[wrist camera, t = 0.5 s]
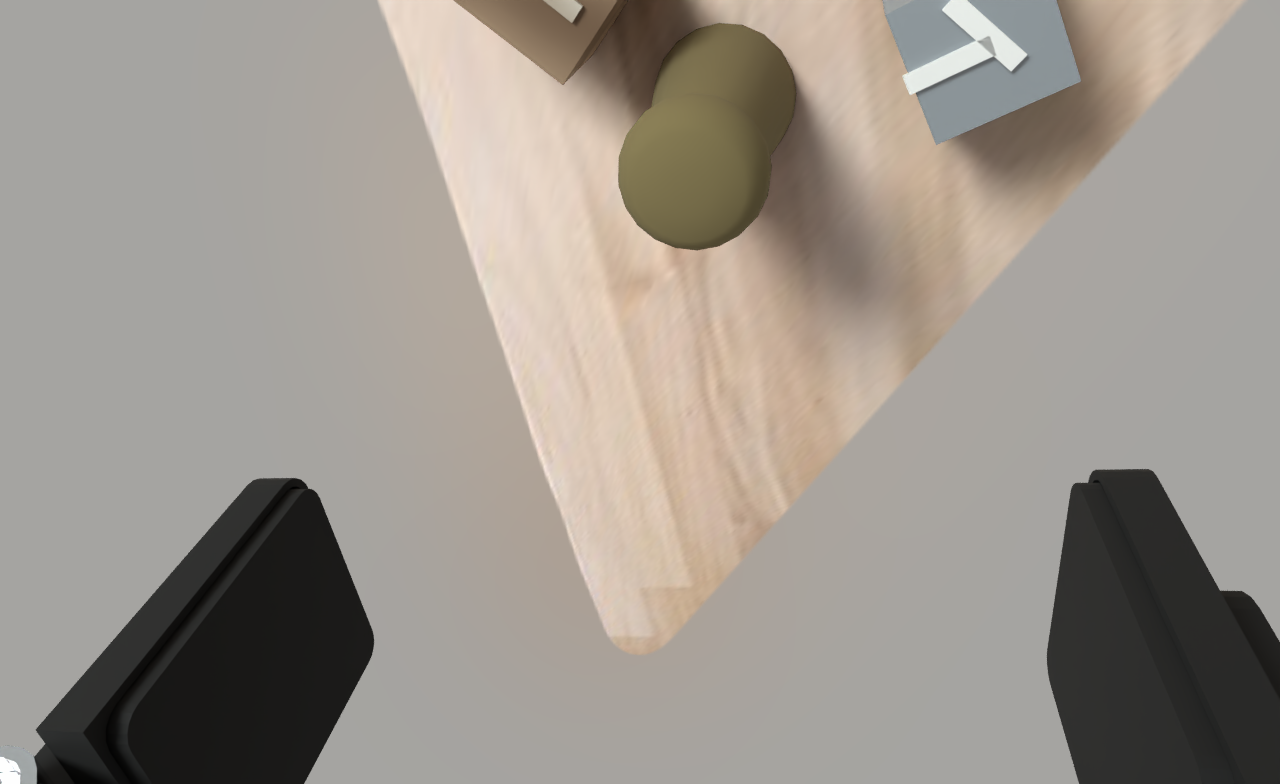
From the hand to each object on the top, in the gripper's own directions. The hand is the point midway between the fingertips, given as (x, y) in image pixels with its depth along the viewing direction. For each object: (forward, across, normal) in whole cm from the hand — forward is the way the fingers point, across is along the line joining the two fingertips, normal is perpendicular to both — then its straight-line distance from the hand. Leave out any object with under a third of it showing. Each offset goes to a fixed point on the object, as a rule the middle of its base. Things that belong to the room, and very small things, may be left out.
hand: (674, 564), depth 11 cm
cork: (+31, +2, +1) cm, 31 cm away
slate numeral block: (+30, -8, -1) cm, 31 cm away
